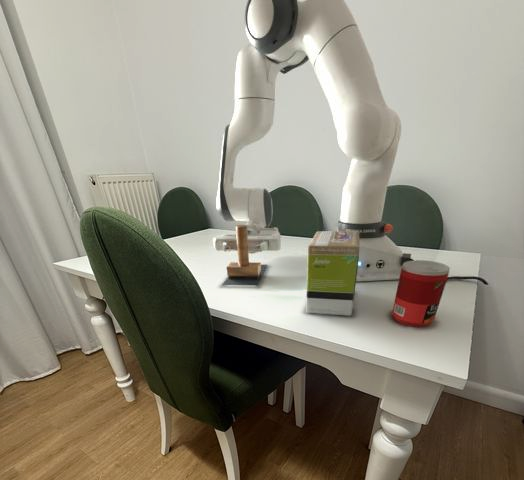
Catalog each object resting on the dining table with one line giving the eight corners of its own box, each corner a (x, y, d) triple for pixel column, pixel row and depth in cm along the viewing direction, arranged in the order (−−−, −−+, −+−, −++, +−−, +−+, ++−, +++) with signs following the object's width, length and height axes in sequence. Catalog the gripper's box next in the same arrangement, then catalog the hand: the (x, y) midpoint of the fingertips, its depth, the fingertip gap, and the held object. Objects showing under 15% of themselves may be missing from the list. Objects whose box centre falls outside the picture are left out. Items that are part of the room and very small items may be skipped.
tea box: (313, 289, 76) (316, 229, 68) (353, 292, 73) (361, 229, 66) (304, 313, 64) (307, 243, 56) (351, 317, 61) (362, 244, 53)
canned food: (431, 331, 55) (448, 274, 49) (387, 322, 59) (398, 268, 53) (435, 315, 61) (451, 262, 55) (394, 308, 64) (406, 258, 58)
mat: (267, 266, 96) (267, 264, 95) (257, 287, 79) (257, 285, 79) (237, 266, 97) (237, 264, 97) (222, 286, 80) (222, 284, 80)
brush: (261, 274, 87) (259, 223, 79) (258, 279, 83) (256, 227, 75) (231, 273, 88) (227, 224, 81) (227, 279, 84) (222, 227, 76)
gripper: (218, 228, 92) (205, 237, 81) (282, 227, 90) (278, 236, 78) (221, 248, 96) (208, 259, 84) (282, 248, 93) (278, 260, 81)
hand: (242, 248), depth 81 cm, fingers open, 8 cm apart
